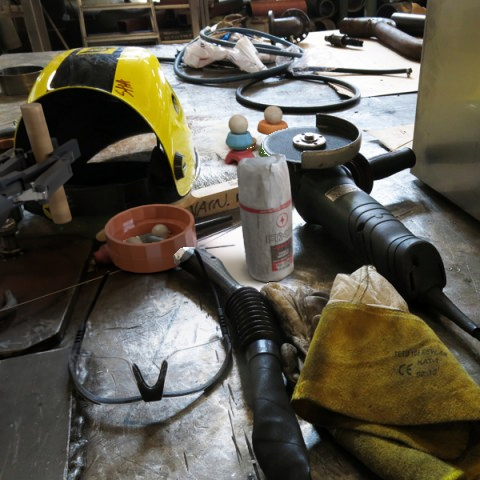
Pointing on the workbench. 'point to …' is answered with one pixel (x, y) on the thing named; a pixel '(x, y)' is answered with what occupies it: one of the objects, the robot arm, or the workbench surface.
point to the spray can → (266, 216)
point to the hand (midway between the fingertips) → (66, 146)
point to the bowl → (142, 222)
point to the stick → (44, 156)
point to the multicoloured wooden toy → (242, 138)
